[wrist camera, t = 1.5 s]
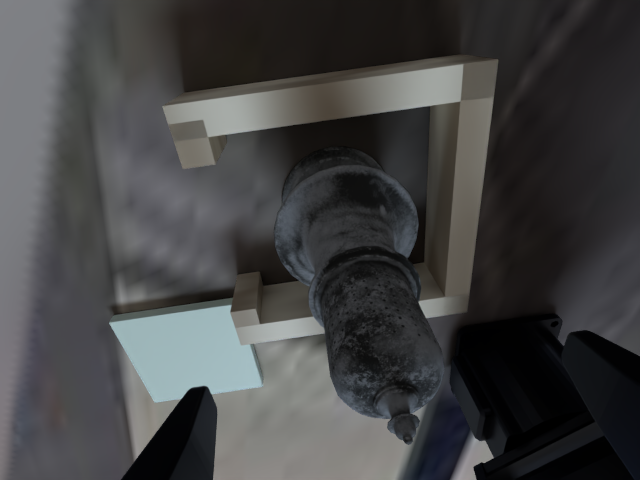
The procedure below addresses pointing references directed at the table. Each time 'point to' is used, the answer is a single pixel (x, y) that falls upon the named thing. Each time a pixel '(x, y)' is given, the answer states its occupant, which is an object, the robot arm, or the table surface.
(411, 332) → the dark grey chess piece
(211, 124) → the beige bracket
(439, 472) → the table surface
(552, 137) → the table surface
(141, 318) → the pad
